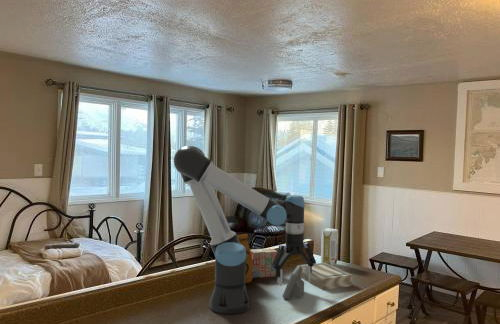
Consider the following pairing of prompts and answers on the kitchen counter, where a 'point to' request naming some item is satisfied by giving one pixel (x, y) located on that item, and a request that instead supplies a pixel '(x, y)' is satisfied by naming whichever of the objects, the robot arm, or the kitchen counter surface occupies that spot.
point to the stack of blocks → (263, 262)
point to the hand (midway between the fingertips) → (294, 282)
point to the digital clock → (294, 285)
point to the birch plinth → (327, 276)
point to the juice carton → (329, 246)
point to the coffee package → (249, 260)
